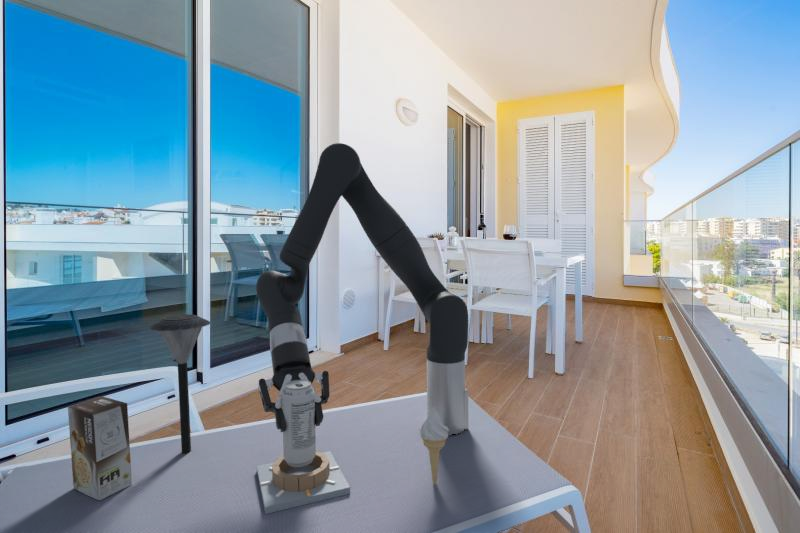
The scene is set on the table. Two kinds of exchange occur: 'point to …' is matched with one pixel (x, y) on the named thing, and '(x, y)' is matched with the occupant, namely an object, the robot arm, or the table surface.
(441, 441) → the ice cream cone
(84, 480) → the coffee box
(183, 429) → the solar garden light
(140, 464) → the table surface
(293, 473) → the dial plate
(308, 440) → the energy drink can
